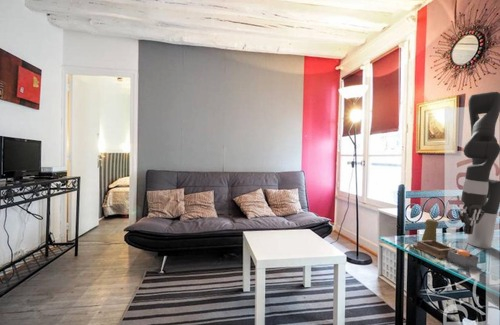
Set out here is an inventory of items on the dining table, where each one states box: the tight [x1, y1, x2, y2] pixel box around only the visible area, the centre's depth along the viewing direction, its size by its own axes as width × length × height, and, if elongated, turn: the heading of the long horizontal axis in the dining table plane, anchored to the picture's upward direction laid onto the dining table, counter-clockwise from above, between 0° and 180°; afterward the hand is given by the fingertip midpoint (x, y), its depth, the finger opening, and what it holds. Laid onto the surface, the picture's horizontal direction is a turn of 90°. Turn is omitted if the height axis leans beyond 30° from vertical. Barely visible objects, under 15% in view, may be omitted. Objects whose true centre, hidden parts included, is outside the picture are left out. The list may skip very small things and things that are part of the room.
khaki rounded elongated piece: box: [421, 218, 439, 242], centre depth 130 cm, size 6×6×11 cm
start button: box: [456, 248, 471, 257], centre depth 107 cm, size 4×4×3 cm
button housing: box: [446, 249, 479, 269], centre depth 107 cm, size 7×7×4 cm
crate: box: [412, 240, 456, 259], centre depth 117 cm, size 12×12×3 cm
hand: (468, 233), depth 106 cm, fingers closed
